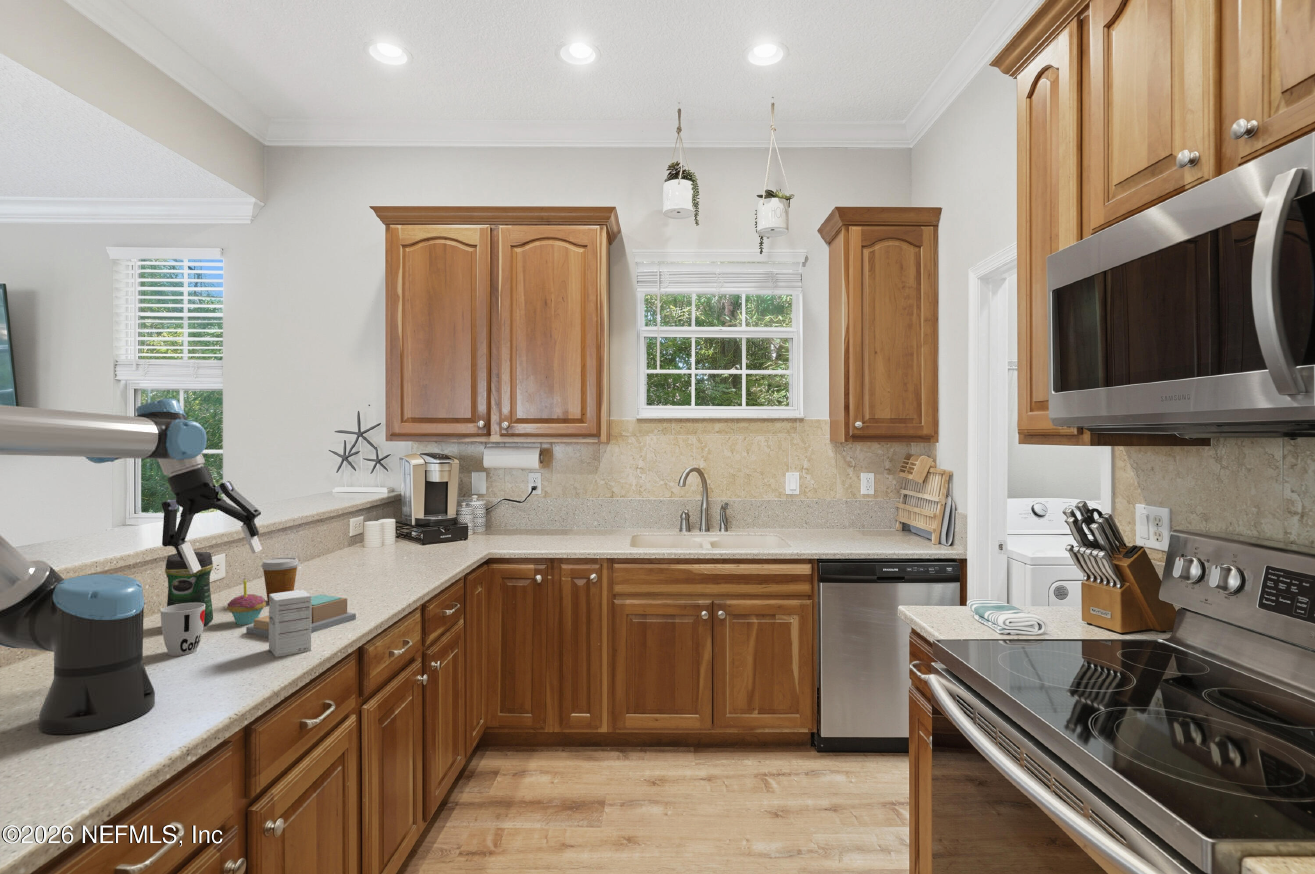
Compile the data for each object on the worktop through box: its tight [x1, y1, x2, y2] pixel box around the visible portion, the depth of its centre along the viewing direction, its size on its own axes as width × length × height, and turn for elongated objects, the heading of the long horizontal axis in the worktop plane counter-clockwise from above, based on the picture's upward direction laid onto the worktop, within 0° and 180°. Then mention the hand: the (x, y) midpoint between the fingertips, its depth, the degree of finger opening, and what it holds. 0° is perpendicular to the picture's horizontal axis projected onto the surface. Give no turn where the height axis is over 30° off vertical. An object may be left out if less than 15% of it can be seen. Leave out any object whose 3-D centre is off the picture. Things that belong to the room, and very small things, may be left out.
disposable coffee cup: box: [261, 556, 300, 604], centre depth 189 cm, size 10×10×12 cm
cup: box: [159, 603, 205, 657], centre depth 145 cm, size 8×8×10 cm
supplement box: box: [268, 589, 312, 658], centre depth 147 cm, size 7×7×13 cm
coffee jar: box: [164, 551, 214, 626], centre depth 165 cm, size 10×8×19 cm
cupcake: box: [226, 577, 267, 626], centre depth 168 cm, size 9×8×12 cm
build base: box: [245, 594, 357, 638], centre depth 165 cm, size 20×14×6 cm
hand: (226, 561), depth 142 cm, fingers open, 13 cm apart
